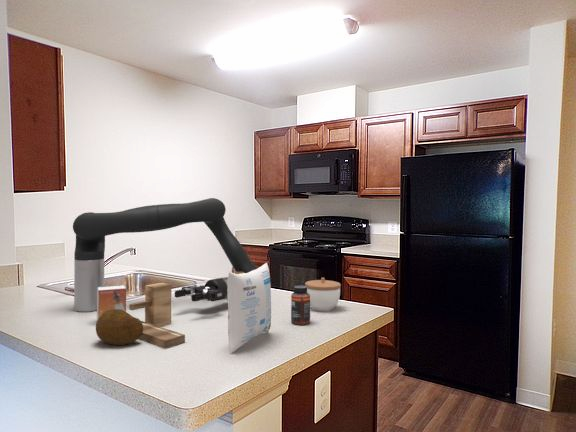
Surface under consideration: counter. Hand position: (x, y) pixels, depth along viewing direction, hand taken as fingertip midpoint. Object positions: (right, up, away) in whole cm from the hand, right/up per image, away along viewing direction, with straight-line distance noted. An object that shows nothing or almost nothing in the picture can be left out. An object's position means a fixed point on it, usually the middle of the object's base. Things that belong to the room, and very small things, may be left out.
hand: (183, 296), depth 127 cm
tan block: (-8, -7, -10) cm, 14 cm away
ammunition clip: (+14, -7, +38) cm, 41 cm away
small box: (-21, -7, -4) cm, 23 cm away
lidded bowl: (+46, -7, +14) cm, 48 cm away
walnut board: (-6, -7, -17) cm, 20 cm away
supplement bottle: (+37, -8, -4) cm, 38 cm away
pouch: (+23, -8, -22) cm, 33 cm away
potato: (-11, -8, -24) cm, 28 cm away
